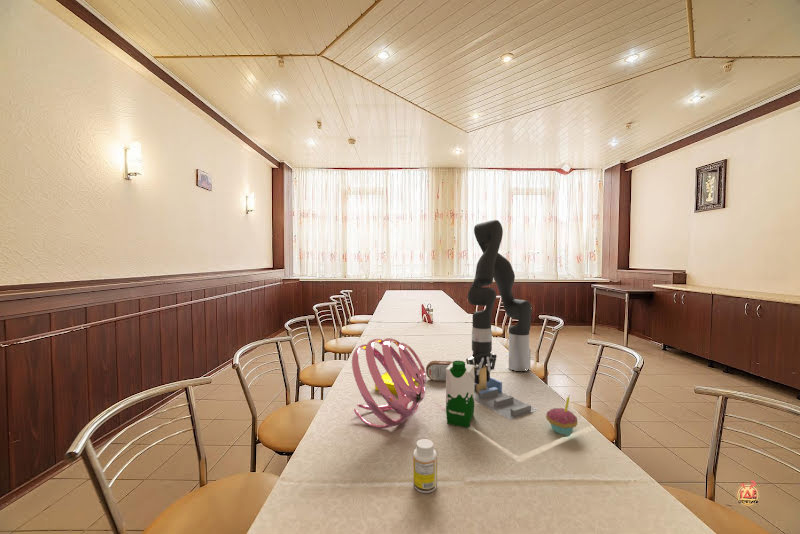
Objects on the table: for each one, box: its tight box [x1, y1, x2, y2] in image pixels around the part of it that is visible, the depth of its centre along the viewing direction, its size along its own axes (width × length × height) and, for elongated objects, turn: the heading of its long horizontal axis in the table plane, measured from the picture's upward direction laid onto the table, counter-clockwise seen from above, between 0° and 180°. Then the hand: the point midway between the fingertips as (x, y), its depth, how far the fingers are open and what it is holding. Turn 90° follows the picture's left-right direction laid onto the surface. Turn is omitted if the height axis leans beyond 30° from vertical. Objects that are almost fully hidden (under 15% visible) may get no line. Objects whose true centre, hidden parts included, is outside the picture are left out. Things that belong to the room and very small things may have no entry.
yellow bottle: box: [476, 365, 487, 394], centre depth 127 cm, size 4×4×12 cm
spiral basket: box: [351, 337, 427, 429], centre depth 109 cm, size 28×28×27 cm
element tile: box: [374, 370, 419, 396], centre depth 136 cm, size 15×15×5 cm
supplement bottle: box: [412, 438, 438, 494], centre depth 77 cm, size 6×6×10 cm
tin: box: [425, 360, 453, 382], centre depth 143 cm, size 15×3×8 cm, turn 84°
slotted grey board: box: [474, 376, 539, 421], centre depth 121 cm, size 14×26×5 cm, turn 29°
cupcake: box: [545, 394, 578, 438], centre depth 100 cm, size 9×8×12 cm
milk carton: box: [445, 360, 475, 429], centre depth 108 cm, size 9×9×20 cm
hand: (481, 382), depth 128 cm, fingers open, 4 cm apart
